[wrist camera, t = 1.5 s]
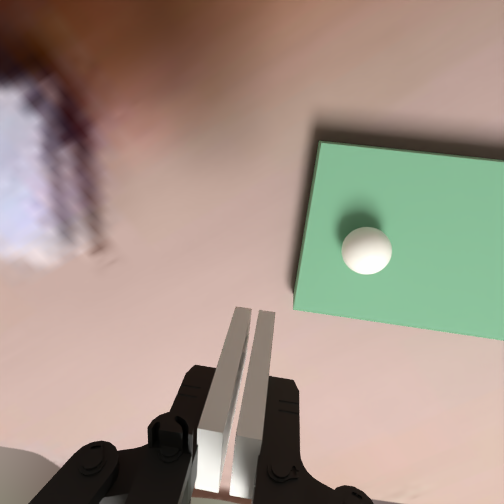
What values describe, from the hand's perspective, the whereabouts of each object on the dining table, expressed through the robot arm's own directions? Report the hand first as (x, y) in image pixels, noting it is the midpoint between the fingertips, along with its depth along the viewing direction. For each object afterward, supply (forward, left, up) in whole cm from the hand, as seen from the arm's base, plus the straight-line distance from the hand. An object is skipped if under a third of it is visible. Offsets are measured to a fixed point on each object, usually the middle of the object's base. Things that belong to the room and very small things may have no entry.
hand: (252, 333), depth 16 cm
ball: (0, +8, -13) cm, 16 cm away
